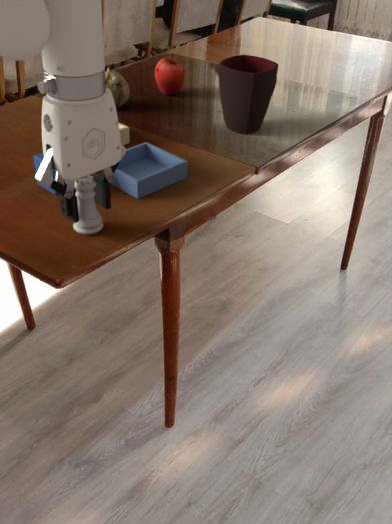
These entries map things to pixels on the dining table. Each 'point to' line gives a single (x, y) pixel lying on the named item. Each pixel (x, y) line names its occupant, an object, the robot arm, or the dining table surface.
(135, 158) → the blue tray
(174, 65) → the apple
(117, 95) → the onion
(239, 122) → the cup
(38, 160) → the blue block
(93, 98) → the robot arm
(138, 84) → the dining table surface
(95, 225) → the rook chess piece
